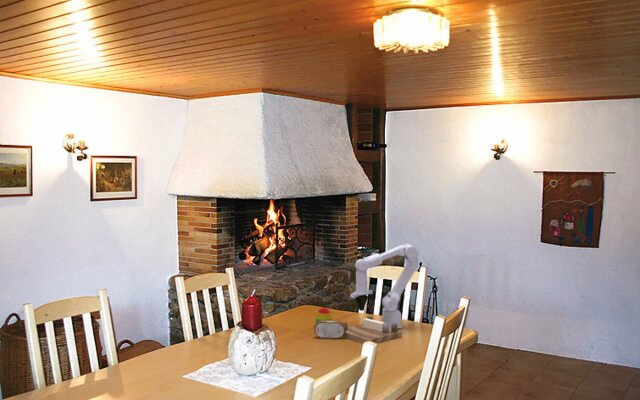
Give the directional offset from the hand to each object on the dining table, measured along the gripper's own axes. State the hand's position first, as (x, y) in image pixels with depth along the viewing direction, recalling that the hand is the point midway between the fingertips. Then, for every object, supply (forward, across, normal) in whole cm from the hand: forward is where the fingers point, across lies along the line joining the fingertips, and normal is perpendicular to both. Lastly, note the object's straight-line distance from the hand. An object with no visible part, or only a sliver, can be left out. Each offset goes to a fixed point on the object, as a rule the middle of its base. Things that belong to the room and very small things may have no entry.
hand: (361, 310), depth 296 cm
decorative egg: (+10, +12, -15) cm, 21 cm away
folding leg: (+7, +4, +13) cm, 15 cm away
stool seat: (+9, +7, +11) cm, 16 cm away
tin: (+10, +23, +1) cm, 25 cm away
